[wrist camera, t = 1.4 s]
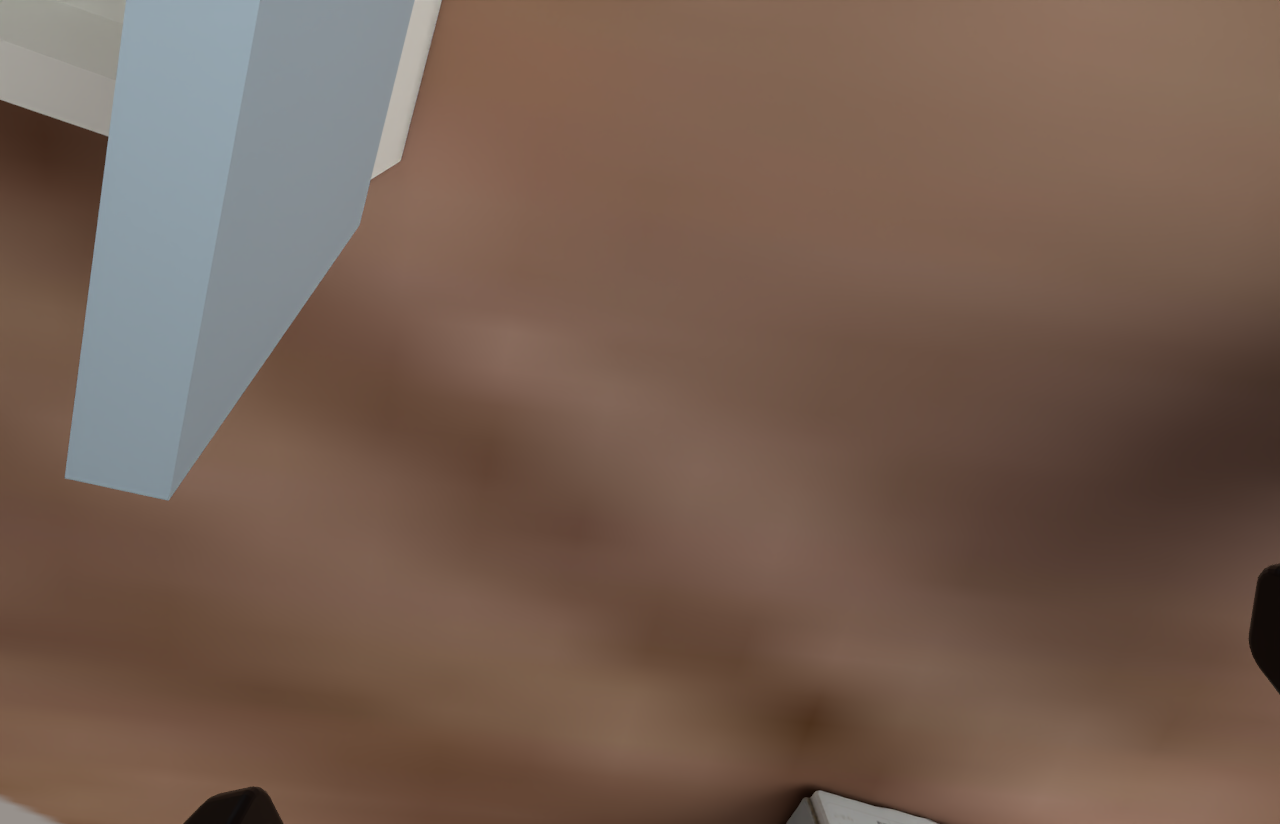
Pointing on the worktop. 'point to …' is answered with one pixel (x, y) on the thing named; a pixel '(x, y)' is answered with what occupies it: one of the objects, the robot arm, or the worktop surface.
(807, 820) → the hard drive box
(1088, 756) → the worktop surface
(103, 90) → the keepsake box
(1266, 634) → the robot arm
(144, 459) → the lid
